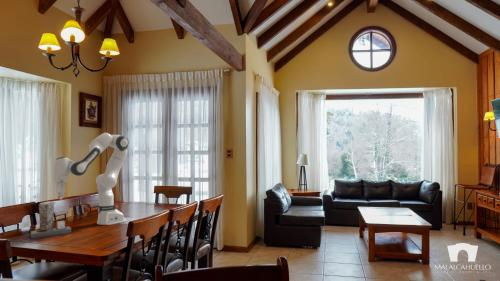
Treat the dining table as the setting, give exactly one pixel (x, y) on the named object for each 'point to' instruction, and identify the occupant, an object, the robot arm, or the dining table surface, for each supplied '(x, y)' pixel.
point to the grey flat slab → (50, 232)
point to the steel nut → (60, 225)
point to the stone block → (46, 215)
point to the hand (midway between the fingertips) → (60, 198)
